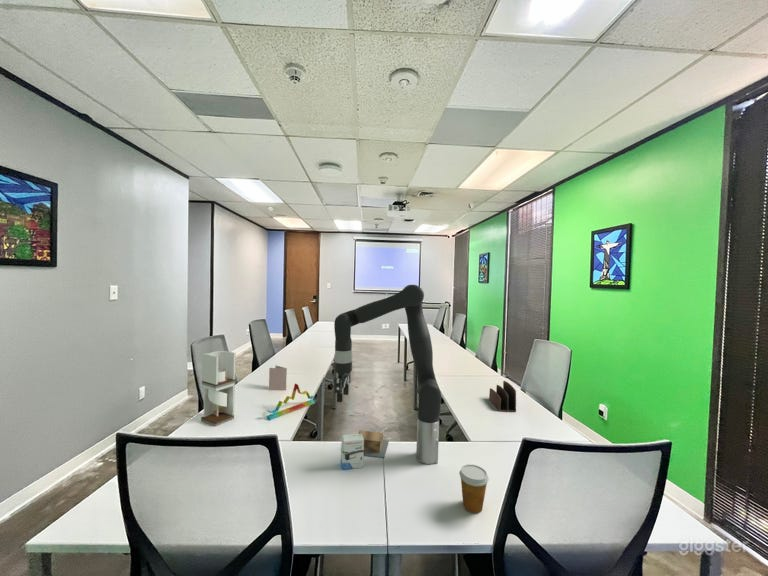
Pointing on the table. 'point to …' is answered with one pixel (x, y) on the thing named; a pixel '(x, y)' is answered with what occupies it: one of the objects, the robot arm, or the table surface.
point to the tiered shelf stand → (218, 387)
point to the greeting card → (277, 378)
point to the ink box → (352, 451)
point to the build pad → (375, 454)
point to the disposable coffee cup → (473, 487)
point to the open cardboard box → (372, 441)
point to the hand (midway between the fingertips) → (342, 398)
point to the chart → (293, 408)
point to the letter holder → (504, 398)
